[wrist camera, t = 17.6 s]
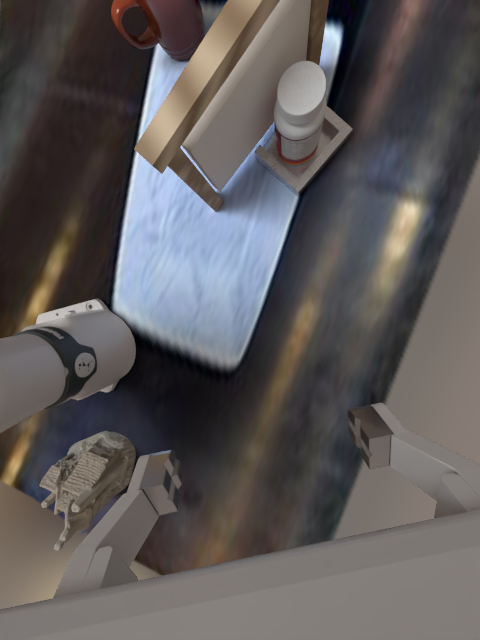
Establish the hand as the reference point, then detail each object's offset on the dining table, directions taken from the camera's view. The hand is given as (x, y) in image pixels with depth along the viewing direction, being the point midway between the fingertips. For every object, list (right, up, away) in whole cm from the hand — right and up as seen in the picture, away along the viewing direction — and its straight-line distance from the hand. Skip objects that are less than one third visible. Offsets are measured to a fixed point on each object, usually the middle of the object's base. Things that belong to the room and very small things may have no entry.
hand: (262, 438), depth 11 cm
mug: (-11, +48, +27) cm, 56 cm away
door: (+1, +33, +25) cm, 41 cm away
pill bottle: (+8, +32, +26) cm, 42 cm away
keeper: (+8, +32, +26) cm, 42 cm away
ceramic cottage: (-31, -25, +43) cm, 59 cm away
